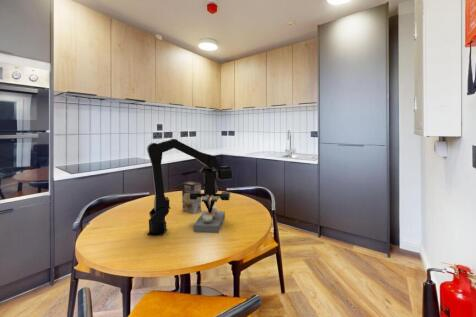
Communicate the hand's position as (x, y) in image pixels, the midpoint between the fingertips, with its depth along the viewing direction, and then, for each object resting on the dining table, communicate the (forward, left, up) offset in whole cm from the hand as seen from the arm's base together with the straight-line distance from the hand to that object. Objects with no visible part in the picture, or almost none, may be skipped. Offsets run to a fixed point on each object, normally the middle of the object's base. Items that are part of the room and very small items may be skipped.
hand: (210, 213), depth 121 cm
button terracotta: (0, 0, -2) cm, 2 cm away
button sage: (0, -6, -1) cm, 7 cm away
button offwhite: (0, +6, -1) cm, 7 cm away
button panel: (0, 0, -6) cm, 6 cm away
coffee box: (-14, +19, -6) cm, 25 cm away
